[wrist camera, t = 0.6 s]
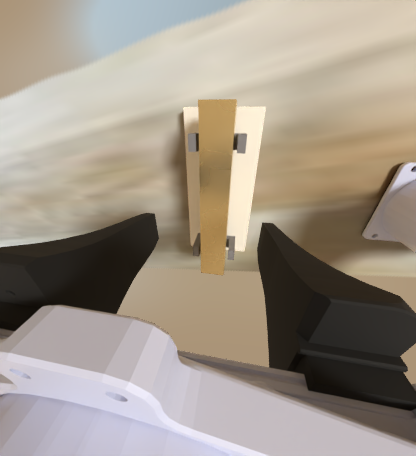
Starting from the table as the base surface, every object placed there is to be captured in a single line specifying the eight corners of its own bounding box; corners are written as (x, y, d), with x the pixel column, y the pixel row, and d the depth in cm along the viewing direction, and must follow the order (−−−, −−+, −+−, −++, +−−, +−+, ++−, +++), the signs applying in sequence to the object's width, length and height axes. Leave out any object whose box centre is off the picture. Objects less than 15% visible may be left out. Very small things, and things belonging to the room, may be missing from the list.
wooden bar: (237, 103, 13) (236, 99, 11) (225, 260, 20) (223, 275, 18) (204, 104, 13) (198, 99, 11) (204, 258, 21) (201, 272, 18)
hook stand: (264, 107, 15) (274, 99, 11) (244, 245, 23) (245, 275, 18) (186, 108, 16) (165, 100, 12) (192, 240, 24) (181, 267, 19)
